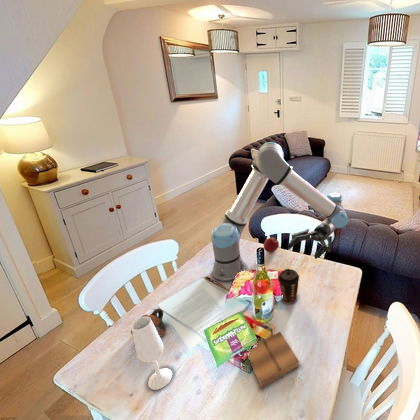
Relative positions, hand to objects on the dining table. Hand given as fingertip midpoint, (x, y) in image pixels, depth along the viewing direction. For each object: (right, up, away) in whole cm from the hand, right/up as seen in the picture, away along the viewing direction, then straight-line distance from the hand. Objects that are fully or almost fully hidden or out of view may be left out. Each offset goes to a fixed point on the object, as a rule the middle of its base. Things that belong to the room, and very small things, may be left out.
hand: (301, 251), depth 116 cm
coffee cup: (-5, -20, 0) cm, 21 cm away
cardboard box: (-9, -33, -26) cm, 42 cm away
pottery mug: (-55, -27, -16) cm, 63 cm away
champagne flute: (-43, -35, -32) cm, 64 cm away
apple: (-17, -5, +32) cm, 37 cm away
